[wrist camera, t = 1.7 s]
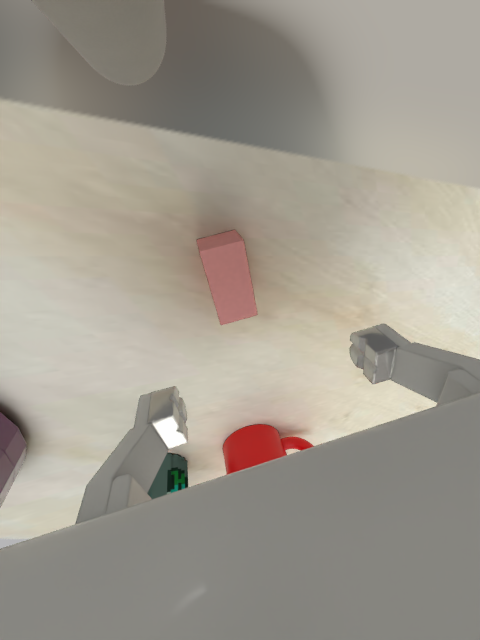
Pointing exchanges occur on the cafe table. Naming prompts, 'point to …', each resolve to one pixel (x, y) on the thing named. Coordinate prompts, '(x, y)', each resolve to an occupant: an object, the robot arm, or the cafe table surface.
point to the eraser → (228, 276)
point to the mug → (257, 447)
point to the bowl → (10, 454)
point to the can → (170, 476)
